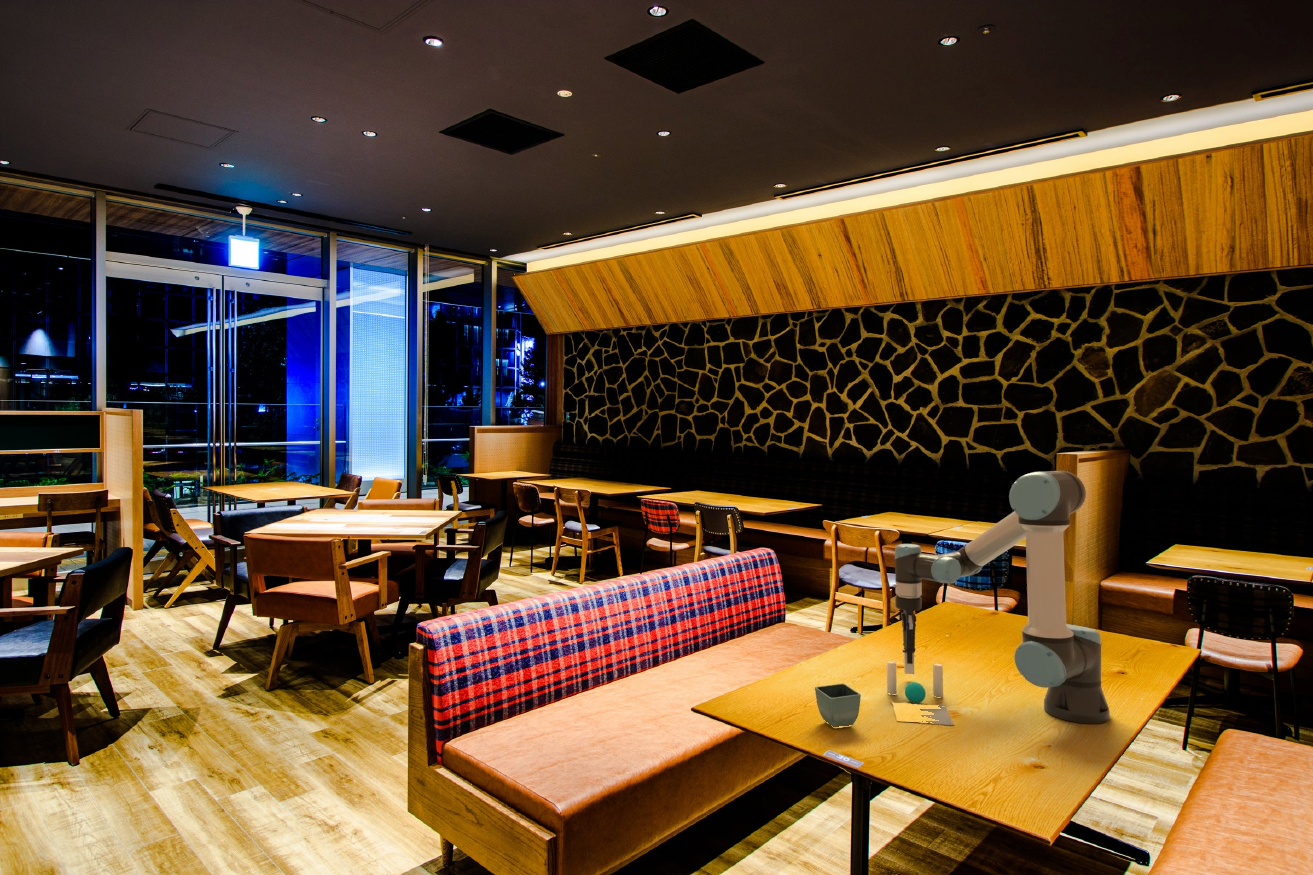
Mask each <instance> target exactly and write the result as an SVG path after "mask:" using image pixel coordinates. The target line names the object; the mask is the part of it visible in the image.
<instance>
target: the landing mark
mask: <svg viewBox="0 0 1313 875" xmlns="http://www.w3.org/2000/svg"><path fill="white" fill-rule="evenodd" d="M938 705H939V706H938V707H940V708H941V709H920V710H921V711H928V712H932V713H934V715H921V716H922V717H924V716H926V717H928V718H932V719H935V720H939V721H926V722H928V723H930V722H932V723H934V724H941V725H940V726H948V725H951V726H950V727H954V726H955V724H954V721H953V720H952V717H951V715H950V713H949V711H948V709H947V707H946V705H945V704H938ZM942 706H945V707H942ZM930 716H931V717H930ZM922 722H923V721H922ZM934 724H933V725H934ZM953 725H954V726H953Z"/></svg>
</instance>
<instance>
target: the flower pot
mask: <svg viewBox="0 0 1313 875" xmlns="http://www.w3.org/2000/svg"><path fill="white" fill-rule="evenodd" d="M814 691H815V697H816V704H817V705H816V706H817V709H818V711H819V714H820V716H821V718H822V719H823V721H824V720H825V721H826V722H828V723H829V724H830V725H832V726H833V727H839V726H849V725H852V726H854V725H855V724H854V723H855V722H856V721H857V719H858V716H859V713H860V708H861V706H860V705H861V697H862V694H861V693H860V692H858V691H856V690H855V689H853V688H852V687H850V686H848V685H847V684H846V683H836V684H835V683H834V684H828V685H821V686H815V687H814ZM825 721H824V722H825ZM826 722H825V723H826ZM830 725H829V726H830Z"/></svg>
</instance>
